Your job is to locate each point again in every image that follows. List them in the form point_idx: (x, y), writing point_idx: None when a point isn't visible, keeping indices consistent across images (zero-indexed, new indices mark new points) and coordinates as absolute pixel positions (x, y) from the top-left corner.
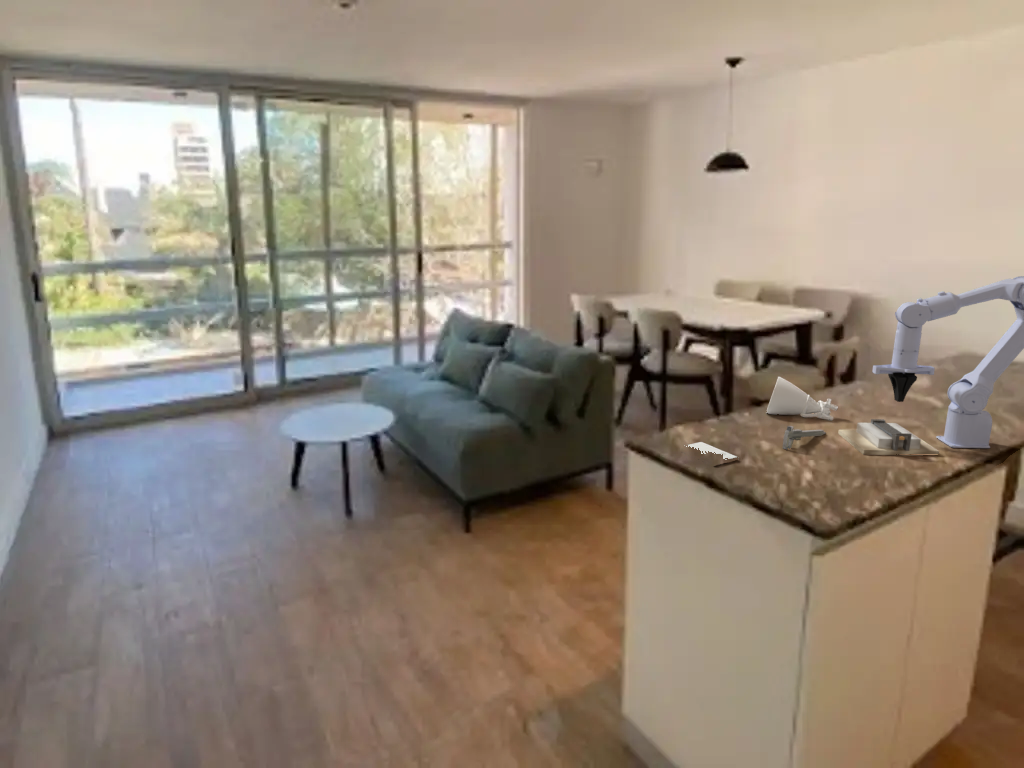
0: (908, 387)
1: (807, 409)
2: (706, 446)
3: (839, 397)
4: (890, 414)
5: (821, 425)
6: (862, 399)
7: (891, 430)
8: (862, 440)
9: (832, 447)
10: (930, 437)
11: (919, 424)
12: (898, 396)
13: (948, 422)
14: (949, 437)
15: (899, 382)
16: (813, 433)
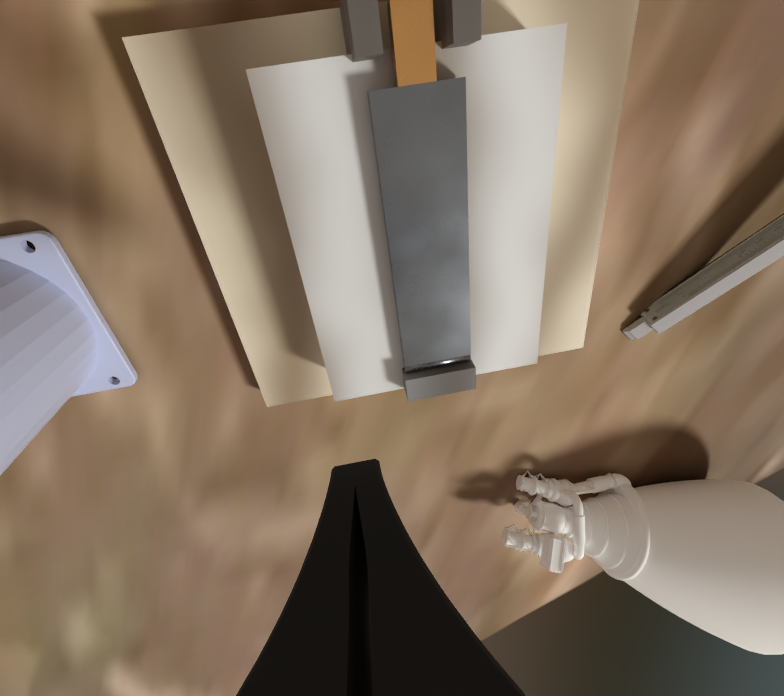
0: (305, 608)
1: (621, 502)
2: None
3: None
4: (288, 575)
5: (584, 419)
6: None
7: (429, 201)
8: (554, 192)
9: (718, 108)
10: (165, 381)
11: (198, 516)
12: (388, 494)
13: (12, 382)
14: (50, 308)
15: (457, 657)
16: (750, 249)
